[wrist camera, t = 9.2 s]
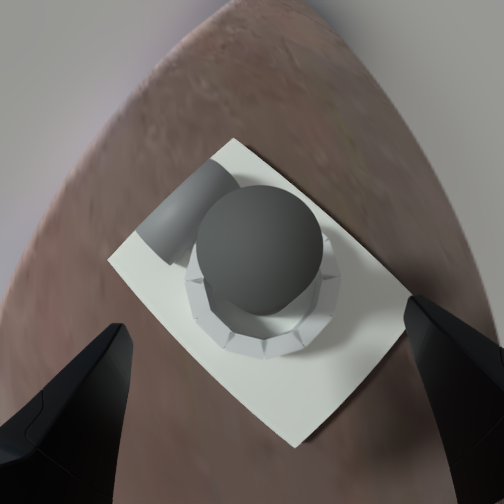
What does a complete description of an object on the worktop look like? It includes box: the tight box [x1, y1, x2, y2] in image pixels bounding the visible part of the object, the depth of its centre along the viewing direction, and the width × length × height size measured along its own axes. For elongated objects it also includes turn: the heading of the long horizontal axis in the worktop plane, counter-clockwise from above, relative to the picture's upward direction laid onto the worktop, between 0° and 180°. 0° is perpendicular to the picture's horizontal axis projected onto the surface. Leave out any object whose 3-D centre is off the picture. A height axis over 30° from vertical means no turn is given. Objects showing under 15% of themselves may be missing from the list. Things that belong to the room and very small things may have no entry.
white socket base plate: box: [108, 138, 412, 448], centre depth 18 cm, size 17×12×4 cm
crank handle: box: [196, 185, 323, 316], centre depth 14 cm, size 4×4×10 cm
